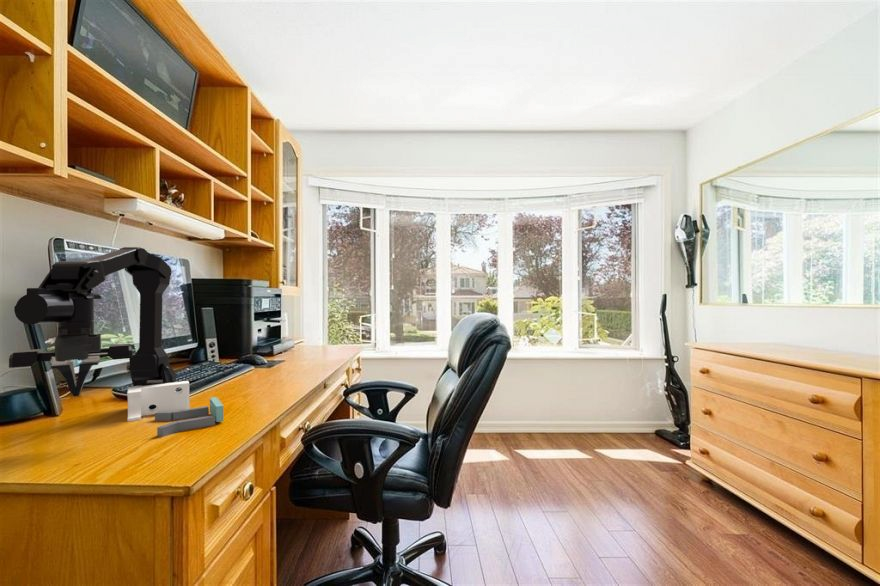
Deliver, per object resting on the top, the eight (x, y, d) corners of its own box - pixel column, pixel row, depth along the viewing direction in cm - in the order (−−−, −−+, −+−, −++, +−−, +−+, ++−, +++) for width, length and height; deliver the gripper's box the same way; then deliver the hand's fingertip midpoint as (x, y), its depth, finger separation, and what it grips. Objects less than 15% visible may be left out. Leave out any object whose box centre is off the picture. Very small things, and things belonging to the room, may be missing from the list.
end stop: (209, 411, 104) (209, 397, 104) (216, 410, 105) (216, 397, 105) (216, 422, 96) (216, 406, 96) (223, 420, 97) (223, 405, 97)
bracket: (128, 415, 103) (127, 422, 97) (128, 387, 103) (127, 393, 97) (188, 406, 111) (190, 412, 105) (188, 380, 111) (190, 385, 105)
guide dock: (154, 420, 99) (154, 411, 99) (206, 411, 106) (206, 404, 106) (157, 438, 87) (157, 428, 87) (216, 427, 93) (216, 418, 93)
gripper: (1, 325, 73) (1, 412, 73) (131, 321, 84) (132, 396, 84) (15, 322, 82) (16, 400, 81) (132, 318, 93) (132, 387, 93)
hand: (76, 396), depth 85 cm, fingers closed
